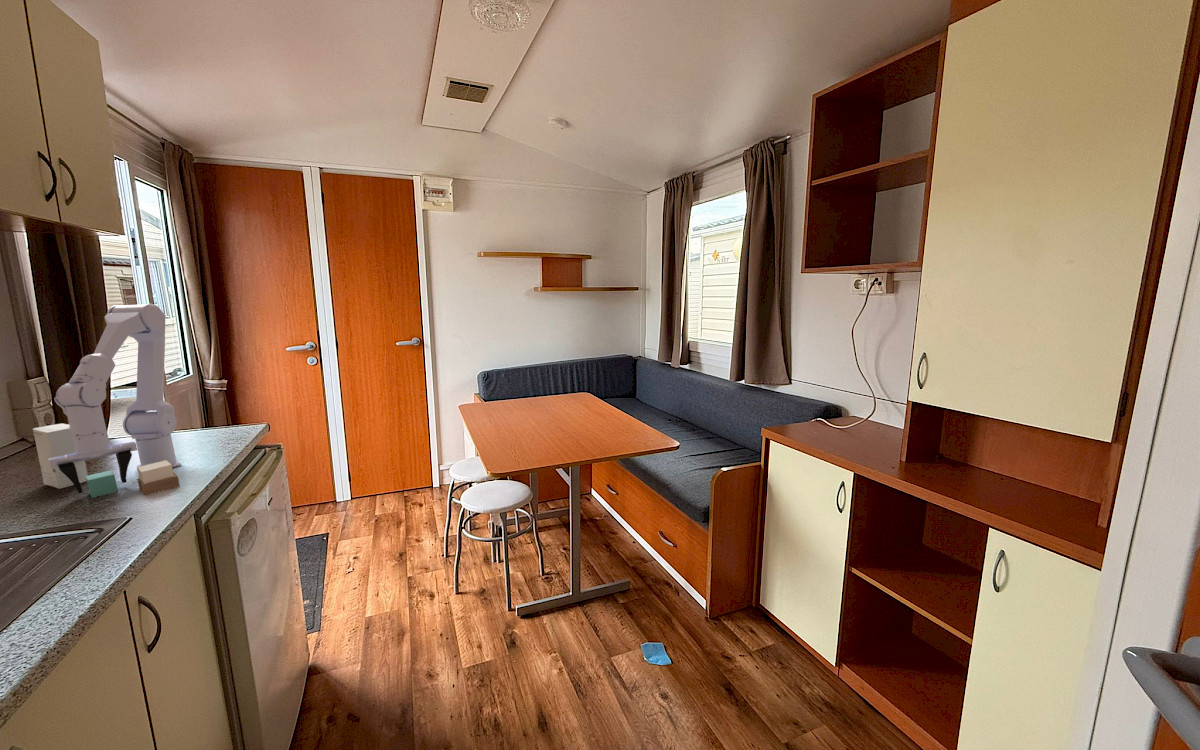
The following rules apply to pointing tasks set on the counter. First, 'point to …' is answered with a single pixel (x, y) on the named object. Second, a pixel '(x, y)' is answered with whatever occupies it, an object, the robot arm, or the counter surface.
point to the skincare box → (56, 454)
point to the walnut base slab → (158, 485)
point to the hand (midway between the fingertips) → (102, 486)
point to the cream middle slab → (155, 471)
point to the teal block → (101, 483)
